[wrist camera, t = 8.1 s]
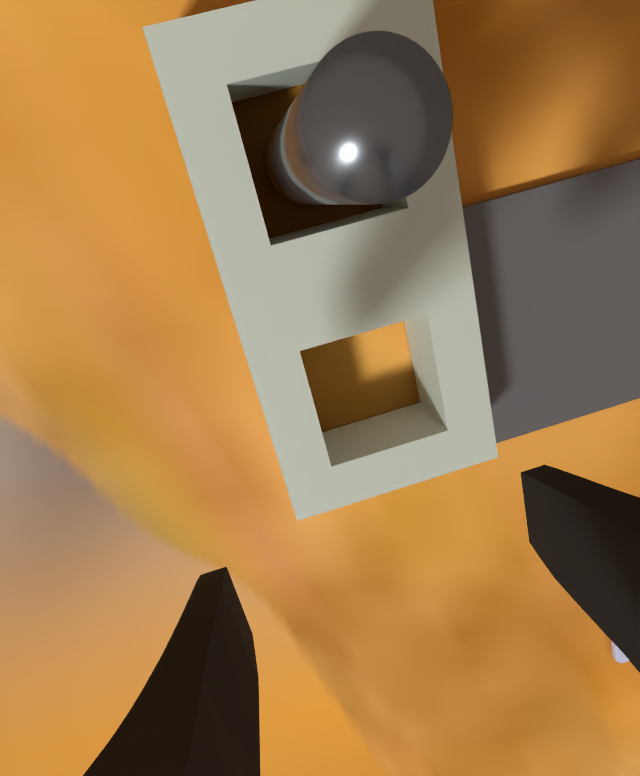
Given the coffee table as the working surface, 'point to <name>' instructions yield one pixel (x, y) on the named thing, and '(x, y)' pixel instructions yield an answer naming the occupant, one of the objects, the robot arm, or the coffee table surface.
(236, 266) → the socket block
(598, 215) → the rubber mat
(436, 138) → the steel peg
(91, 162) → the coffee table surface
